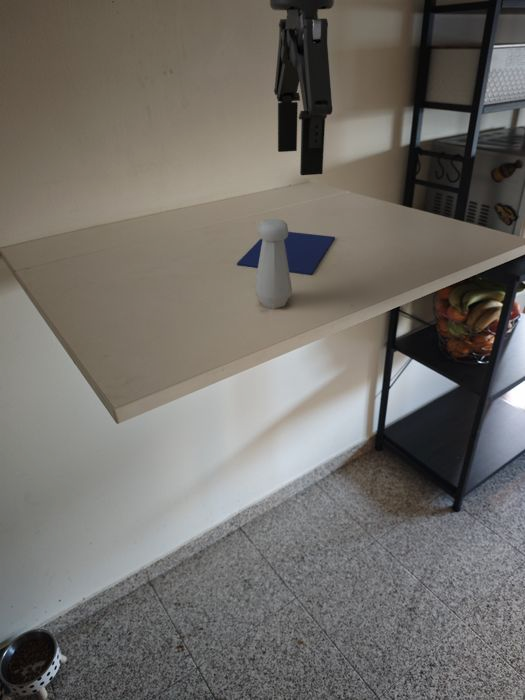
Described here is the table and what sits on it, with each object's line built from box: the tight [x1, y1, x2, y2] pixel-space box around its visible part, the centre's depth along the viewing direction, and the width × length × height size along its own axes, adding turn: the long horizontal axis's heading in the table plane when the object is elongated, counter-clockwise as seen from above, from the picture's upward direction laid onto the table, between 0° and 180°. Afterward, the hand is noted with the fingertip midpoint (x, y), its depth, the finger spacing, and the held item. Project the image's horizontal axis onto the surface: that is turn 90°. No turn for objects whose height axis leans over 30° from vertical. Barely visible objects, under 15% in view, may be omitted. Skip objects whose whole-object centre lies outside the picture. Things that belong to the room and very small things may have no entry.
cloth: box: [236, 231, 336, 276], centre depth 95 cm, size 14×18×1 cm
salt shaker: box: [254, 218, 293, 310], centre depth 75 cm, size 6×6×13 cm
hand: (298, 161), depth 69 cm, fingers open, 13 cm apart
